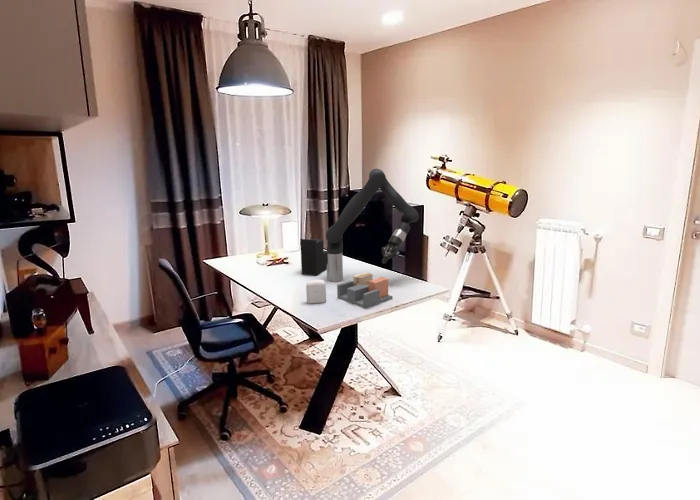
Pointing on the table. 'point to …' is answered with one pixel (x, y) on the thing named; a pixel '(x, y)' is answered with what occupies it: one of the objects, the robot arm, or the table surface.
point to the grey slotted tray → (360, 295)
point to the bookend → (313, 257)
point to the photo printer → (316, 291)
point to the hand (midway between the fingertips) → (383, 262)
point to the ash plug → (362, 279)
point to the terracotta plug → (379, 285)
